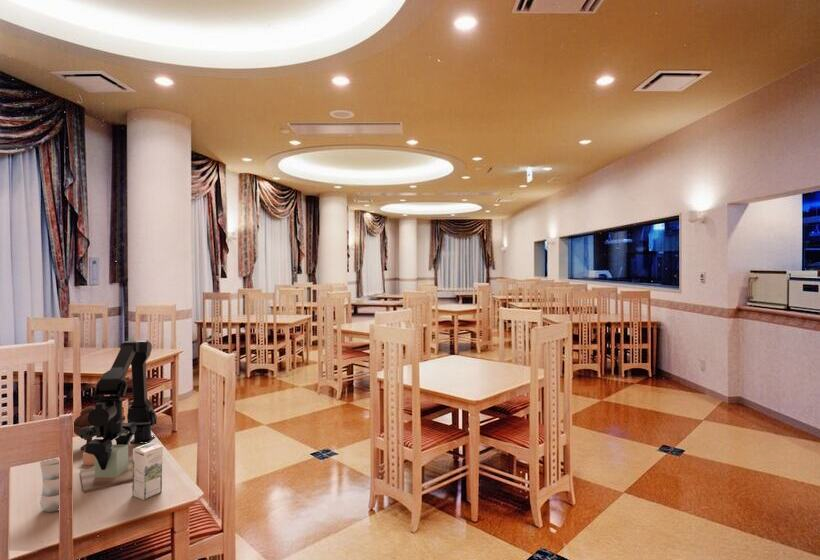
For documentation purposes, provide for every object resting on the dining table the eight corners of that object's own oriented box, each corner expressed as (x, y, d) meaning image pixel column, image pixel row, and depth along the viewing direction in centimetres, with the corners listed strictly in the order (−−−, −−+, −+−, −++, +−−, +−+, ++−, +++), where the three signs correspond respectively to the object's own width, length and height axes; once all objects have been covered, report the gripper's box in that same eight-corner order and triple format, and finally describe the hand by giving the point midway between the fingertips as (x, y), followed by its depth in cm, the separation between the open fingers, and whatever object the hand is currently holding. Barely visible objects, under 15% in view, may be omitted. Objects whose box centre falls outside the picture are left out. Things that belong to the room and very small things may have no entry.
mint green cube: (107, 468, 152) (107, 444, 152) (128, 468, 153) (128, 444, 152) (94, 477, 146) (94, 452, 145) (116, 477, 146) (116, 452, 146)
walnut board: (80, 472, 150) (80, 470, 150) (136, 460, 160) (136, 458, 160) (83, 492, 138) (83, 490, 138) (144, 478, 148) (144, 475, 148)
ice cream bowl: (64, 449, 167) (64, 409, 167) (97, 439, 177) (97, 401, 177) (80, 456, 162) (80, 414, 162) (113, 445, 172) (113, 405, 172)
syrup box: (150, 487, 142) (150, 441, 141) (162, 492, 139) (162, 445, 139) (132, 495, 137) (131, 447, 136) (144, 501, 134) (144, 452, 134)
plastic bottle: (58, 515, 126) (57, 443, 125) (33, 514, 126) (33, 442, 125) (75, 503, 132) (75, 434, 131) (52, 502, 132) (52, 433, 131)
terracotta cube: (90, 459, 160) (90, 448, 160) (102, 459, 160) (102, 448, 160) (83, 464, 156) (82, 453, 156) (95, 464, 156) (95, 453, 156)
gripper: (103, 406, 157) (103, 451, 158) (65, 425, 138) (66, 476, 139) (137, 406, 158) (137, 451, 158) (104, 426, 139) (104, 476, 140)
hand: (112, 463), depth 149 cm, fingers open, 9 cm apart
